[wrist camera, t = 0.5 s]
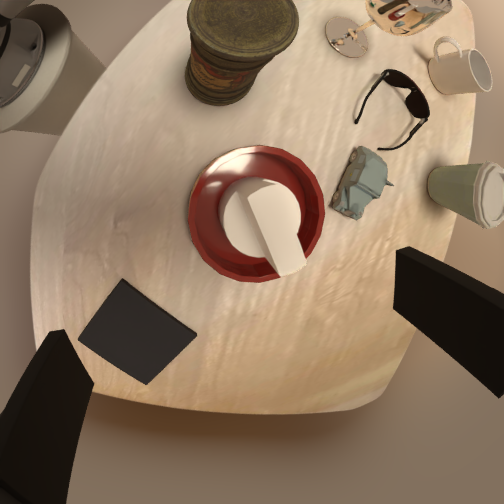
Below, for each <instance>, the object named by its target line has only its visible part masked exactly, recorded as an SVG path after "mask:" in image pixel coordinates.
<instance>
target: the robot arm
mask: <svg viewBox="0 0 504 504" xmlns="http://www.w3.org/2000/svg"><path fill="white" fill-rule="evenodd" d="M33 1H34V0H0V108H2V107H5V106H7V105H8V104H10V103H12V102H13V101H14V100H15V99H17V98H18V97H19V96H20V95H21V94H22V93H23V92H24V91H25V89H26V88H27V87H28V86H29V84H30V83H31V81H32V80H33V78H34V77H35V75H36V73H37V72H38V70H39V68H40V65H41V63H42V60H43V57H44V54H45V49H46V36H45V32H44V30H43V29H42V27H40V26H39V25H38V24H37V23H36V22H34V21H32V20H29V19H21V18H14V17H15V16H17V15H18V14H19V13H20V12H21V11H22V10H23V9H25V8H26V7H27V6H28V5H29V4H31V3H32V2H33ZM393 309H394V310H395V311H396V312H398V313H399V314H400V315H401V316H403V317H404V318H405V319H406V320H408V321H409V322H410V323H411V324H413V325H414V326H415V327H416V328H418V329H419V330H420V331H421V332H422V333H424V334H425V335H426V336H427V337H429V338H430V339H431V340H432V341H433V342H435V343H436V344H437V345H438V346H439V347H441V348H442V349H443V350H444V351H445V352H446V353H448V354H449V355H450V356H451V357H452V358H453V359H455V360H456V361H457V362H458V363H459V364H460V365H462V366H463V367H464V368H465V369H466V370H468V371H469V372H470V373H471V374H472V375H473V376H474V377H475V378H477V379H478V380H479V381H480V382H481V383H482V384H483V385H484V386H486V387H487V388H488V389H489V390H490V391H491V392H492V393H493V394H494V395H495V396H497V397H498V398H500V397H501V396H502V395H503V394H504V294H503V293H501V292H499V291H498V290H496V289H494V288H491V287H489V286H487V285H486V284H484V283H482V282H480V281H478V280H476V279H474V278H472V277H470V276H469V275H467V274H465V273H463V272H461V271H459V270H457V269H455V268H453V267H451V266H449V265H447V264H445V263H443V262H441V261H439V260H437V259H435V258H433V257H431V256H429V255H427V254H425V253H423V252H421V251H418V250H416V249H414V248H412V247H410V246H409V247H405V248H402V249H399V250H396V266H395V288H394V303H393ZM93 386H94V382H93V381H92V379H91V377H90V376H89V374H88V372H87V371H86V369H85V367H84V365H83V364H82V362H81V360H80V358H79V357H78V355H77V353H76V351H75V349H74V347H73V345H72V343H71V342H70V340H69V338H68V336H67V334H66V332H65V330H64V329H62V330H56V331H50V332H49V333H48V335H47V336H46V338H45V339H44V341H43V342H42V344H41V346H40V347H39V349H38V350H37V352H36V354H35V355H34V357H33V359H32V360H31V362H30V363H29V365H28V367H27V369H26V370H25V372H24V374H23V375H22V377H21V379H20V381H19V382H18V384H17V386H16V388H15V390H14V392H13V393H12V395H11V397H10V399H9V401H8V403H7V405H6V407H5V409H4V410H3V412H2V413H1V414H0V504H66V500H67V494H68V488H69V482H70V477H71V471H72V467H73V462H74V457H75V453H76V448H77V444H78V440H79V436H80V432H81V428H82V424H83V421H84V417H85V413H86V410H87V406H88V403H89V399H90V396H91V393H92V389H93Z"/></svg>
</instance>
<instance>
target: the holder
mask: <svg viewBox="0 0 504 504" xmlns="http://www.w3.org/2000/svg"><path fill="white" fill-rule="evenodd" d="M196 337H197V333H195V332H194V331H193V330H191V329H190V328H188V327H187V326H185V325H184V324H182V323H181V322H180V321H178V320H177V319H175V318H174V317H173V316H171V315H170V314H169V313H167V312H166V311H164V310H163V309H162V308H160V307H159V306H158V305H156V304H155V303H154V302H152V301H151V300H150V299H148V298H147V297H146V296H144V295H143V294H142V293H141V292H139V291H138V290H137V289H135V288H134V287H133V286H132V285H130V284H129V283H128V282H127V281H125V280H124V279H123V278H122V279H121V281H120V282H119V283H118V285H117V286H116V287H115V288H114V290H113V291H112V292H111V294H110V295H109V296H108V298H107V299H106V300H105V302H104V303H103V304H102V306H101V307H100V308H99V310H98V311H97V312H96V314H95V315H94V317H93V318H92V319H91V321H90V322H89V323H88V325H87V326H86V328H85V329H84V331H83V332H82V333H81V335H80V336H79V338H78V341H80V342H81V343H82V344H84V345H85V346H86V347H88V348H89V349H91V350H92V351H94V352H95V353H96V354H98V355H99V356H101V357H102V358H104V359H105V360H107V361H108V362H110V363H111V364H113V365H114V366H116V367H117V368H119V369H120V370H122V371H124V372H125V373H127V374H128V375H130V376H132V377H133V378H135V379H137V380H138V381H140V382H142V383H143V384H145V385H147V384H148V383H149V382H150V381H151V380H152V379H154V378H155V377H156V376H157V375H158V374H159V373H160V372H161V371H162V370H163V369H164V368H165V367H166V366H167V365H168V364H169V363H170V362H171V361H172V360H173V359H174V358H175V357H176V356H177V355H178V354H179V353H180V352H181V351H182V350H183V349H184V348H185V347H186V346H187V345H188V344H189V343H190V342H191V341H192V340H193V339H195V338H196Z"/></svg>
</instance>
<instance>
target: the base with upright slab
mask: <svg viewBox="0 0 504 504" xmlns="http://www.w3.org/2000/svg"><path fill="white" fill-rule="evenodd" d="M218 215H219V220H220V223H221V226H222V228H223V230H224V232H225V234H226V236H227V238H228V239H229V241H230V242H231V244H232V245H233V246H234V247H235V248H236V249H237V250H239V251H240V252H242V253H244V254H246V255H248V256H252V257H258V258H260V257H265V258H266V259H267V260H268V261H269V263H270V264H271V265H272V267H273V268H274V269H275V270H276V272H277V273H278V274H279V276H280V277H284V276H287V275H290V274H292V273H295V272H297V271H298V270H300V269H301V268H303V267H304V266H305V265H306V264H307V261H306V258H305V256H304V253H303V250H302V247H301V245H300V242H299V239H298V237H297V233H298V230H299V226H300V223H301V212H300V207H299V203H298V201H297V199H296V198H295V196H294V194H293V193H292V192H291V191H290V190H289V189H288V188H287V187H285V186H284V185H282V184H280V183H279V182H275V181H271V180H268V179H264V178H260V177H245V178H242V179H239V180H237V181H235V182H234V183H232V184H231V185H230V186H229V187H228V188H227V189H226V190H225V191H224V193H223V195H222V197H221V199H220V202H219V207H218Z"/></svg>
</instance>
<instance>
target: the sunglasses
mask: <svg viewBox="0 0 504 504" xmlns="http://www.w3.org/2000/svg"><path fill="white" fill-rule="evenodd" d="M382 79H384V80H385V81H386V82H387V83H388V84H390V85H391V86H394V87H400V88H409V89H410V90H411V93H410V94H409V95H408V96H407V98H406V100H405V103H406V105H407V107H408V109H409V111H410V112H411V114H412V115H413V116H414V117H416V118H420V119H421V121H420V122H419V123H418V124H417V125H416V126H415V127H414V128H413V130H412V131H411V132H410V135H409V137H408V138H407V139H406V140H405V141H404V142H403V143H402V144H400V145H399V146H397V147H394V148H378V150H395V149H398V148H400V147H401V146H403V145H404V144H406V143H407V142H408V141H409V140H410V139H411V138H412V136H413V135H414V134H415V133H416V131H417V130H418V129H419V128H420V127H421V126H422V125H423V124H424V123H425V122H426V121H427V120H428V117H429V115H430V110H429V106H428V102H427V100H426V98H425V96H424V94H423V93H422V91H421V90H420V88H419V87H418V86H417V85H416V84H415V82H414V81H413V80H412V79H410V78H409V77H408V76H407V75H405V74H403V73H402V72H400V71H397V70H393V69H387V70H384V71H383V72H382V73H381V76H380V77H379V79H378V80H377V81H376V82H375V84H374V85H373V86H372V88H371V90H370V92H369V93H368V94H367V96H366V98H365V100H364V102H363V104H362V107H361V110H360V113H359V115H358V117H357V119H356V120H355V124H358V121H359V119H360V117H361V115H362V112H363V109H364V106H365V103H366V101H367V99H368V97H369V96H370V94H371V93H372V92H373V91H374V90H375V88H376V87H377V86H378V84H379V83H380V82H381V81H382ZM414 87H415V88H414Z"/></svg>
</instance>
